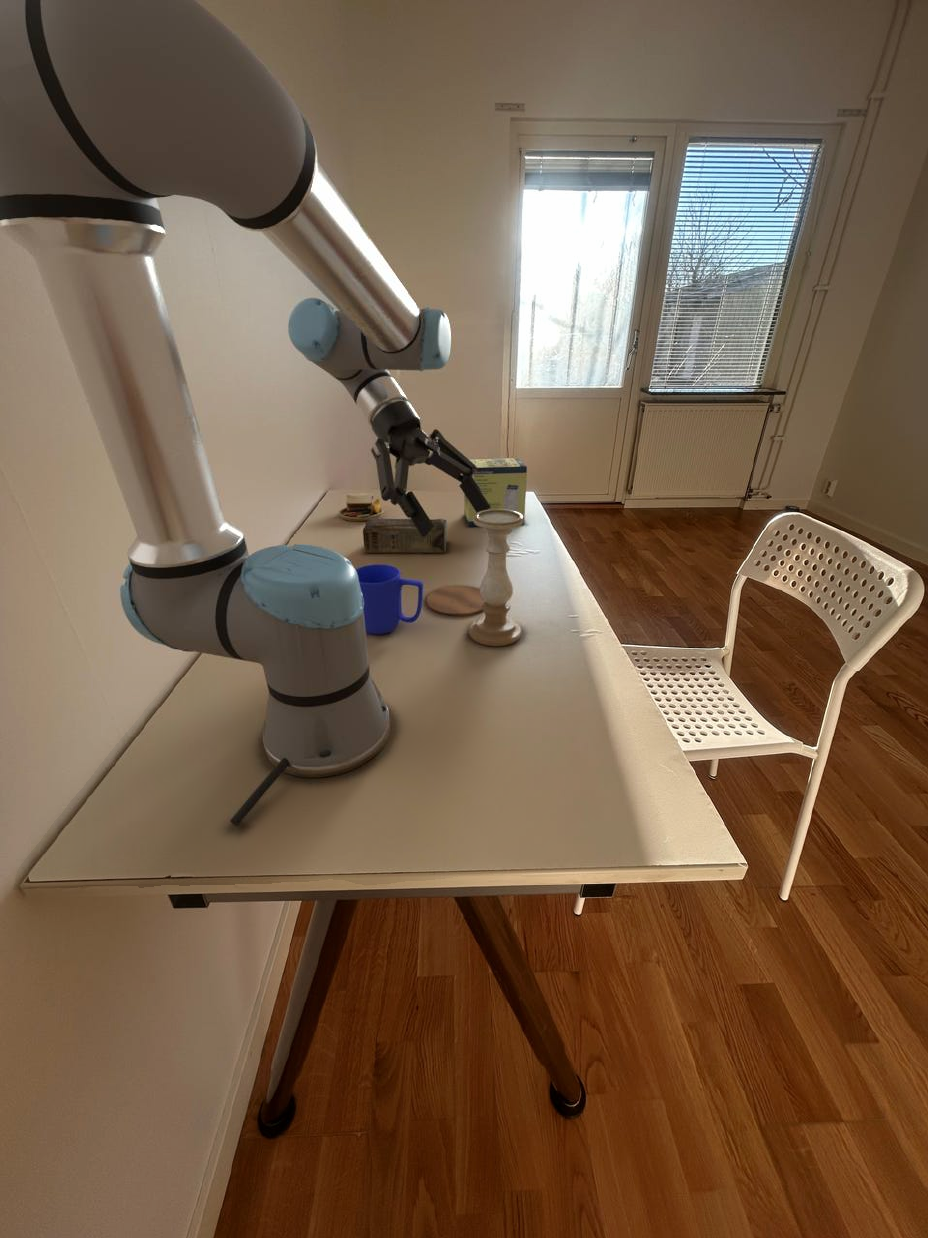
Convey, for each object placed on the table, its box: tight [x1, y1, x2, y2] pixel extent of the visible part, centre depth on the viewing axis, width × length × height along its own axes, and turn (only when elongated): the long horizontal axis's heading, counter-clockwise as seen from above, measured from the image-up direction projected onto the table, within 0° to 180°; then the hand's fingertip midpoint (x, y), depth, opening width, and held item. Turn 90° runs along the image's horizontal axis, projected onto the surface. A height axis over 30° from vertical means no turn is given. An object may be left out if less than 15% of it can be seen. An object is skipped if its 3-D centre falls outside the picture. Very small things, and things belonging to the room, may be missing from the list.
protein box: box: [463, 457, 528, 528], centre depth 137 cm, size 10×16×16 cm
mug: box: [355, 563, 424, 635], centre depth 86 cm, size 8×12×10 cm
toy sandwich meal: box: [337, 492, 384, 522], centre depth 145 cm, size 12×14×5 cm
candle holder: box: [468, 509, 525, 647], centre depth 81 cm, size 9×9×20 cm
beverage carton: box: [362, 518, 448, 554], centre depth 121 cm, size 8×19×7 cm, turn 90°
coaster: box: [426, 585, 484, 617], centre depth 97 cm, size 12×12×1 cm
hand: (458, 521), depth 83 cm, fingers open, 13 cm apart
